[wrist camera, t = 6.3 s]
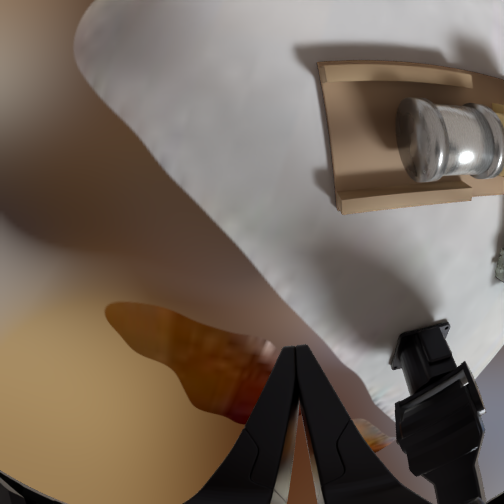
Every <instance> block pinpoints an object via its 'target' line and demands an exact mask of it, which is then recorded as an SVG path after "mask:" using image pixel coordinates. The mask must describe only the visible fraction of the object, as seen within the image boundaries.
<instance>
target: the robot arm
mask: <svg viewBox="0 0 504 504" xmlns="http://www.w3.org/2000/svg"><path fill="white" fill-rule="evenodd" d="M449 329H450V324H449V323H448V322H447V323H443V324H439V325H435V326H432V327H428V328H424V329H420V330H416V331H411V332H407V333H403V334H401V335H400V337H399V340H398V344H397V347H396V351H395V354H394V358H393V361H392V364H391V368H392V370H396V369H400V368H402V370H403V373H404V376H405V380H406V383H407V386H408V390H409V393H410V396H409V397H408V398H406V399H404V400H402V401H398V402H397V403H395V420H396V439H397V440H396V442H397V444H398V445H400V447H401V449H402V451H403V452H404V453H405V454H407V457H408V463H409V469H410V471H411V472H412V473H413V474H414V475H415V476H416V477H417V476H420V475H421V476H422V477H424V478H425V479H427V480H428V481H429V482H431V483H432V484H433V485H434V488H435V493H436V498H437V503H438V504H504V491H503V492H502V493H500V494H499V495H497V496H496V497H494V498H492V499H490V500H489V501H487V502H486V498H485V493H484V487H483V482H482V478H481V473H480V469H479V465H478V457H479V453H480V449H481V445H482V441H483V437H484V433H485V428H484V424H483V421H482V418H481V415H483V414H485V413H486V410H485V407H484V403H483V401H482V397H481V395H480V391H479V389H478V386H477V384H476V381H475V379H474V377H473V375H472V372H471V371H470V369H469V367H468V365H467V363H466V362H465V361H464V362H463V363H461V365H460V366H458V367H457V365H456V363H455V361H454V359H453V356H452V352H451V350H450V348H449V346H448V344H447V342H446V340H445V339H446V336H447V334H448V331H449ZM467 382H468V384H467V385H465V386H463V385H464V384H466V383H467ZM299 401H300V408H301V413H302V418H303V424H304V429H305V434H306V440H307V446H308V451H309V457H310V462H311V468H312V474H313V479H314V485H315V491H316V497H317V503H318V504H432V503H431V502H429V501H427V500H426V499H424V498H422V497H421V496H419V495H418V494H416V493H415V492H413V491H411V490H410V489H408V488H407V487H405V486H404V485H403V484H402V483H400V482H399V481H398V480H397V479H396V478H395V477H394V476H393V475H392V473H391V472H390V471H389V470H388V469H387V468H386V466H385V465H384V464H383V463H382V462H381V461H380V459H379V458H378V457H377V456H376V454H375V453H374V452H373V451H372V449H371V448H370V447H369V445H368V444H367V443H366V441H365V440H364V439H363V437H362V435H361V434H360V432H359V431H358V429H357V428H356V426H355V424H354V423H353V421H352V420H351V418H350V416H349V414H348V413H347V411H346V409H345V407H344V406H343V404H342V402H341V401H340V399H339V397H338V396H337V394H336V392H335V390H334V389H333V387H332V385H331V384H330V382H329V380H328V378H327V377H326V375H325V373H324V372H323V370H322V368H321V367H320V365H319V363H318V361H317V360H316V358H315V356H314V355H313V353H312V351H311V350H310V348H309V346H308V345H306V344H305V345H297V346H296V347H295V346H285V347H283V348H282V351H281V352H280V355H279V357H278V359H277V361H276V363H275V365H274V368H273V370H272V372H271V374H270V376H269V378H268V380H267V382H266V385H265V387H264V389H263V391H262V393H261V395H260V397H259V399H258V401H257V403H256V405H255V407H254V409H253V411H252V413H251V415H250V417H249V419H248V421H247V423H246V425H245V428H244V429H243V430H242V432H241V434H240V436H239V438H238V439H237V441H236V443H235V444H234V446H233V448H232V449H231V451H230V452H229V454H228V455H227V457H226V458H225V460H224V461H223V462H222V464H221V465H220V466H219V468H218V469H217V470H216V471H215V473H214V474H213V475H212V476H211V478H210V479H209V480H208V481H207V483H206V484H205V485H204V486H203V487H202V488H201V490H199V492H198V493H197V494H195V495H194V496H193V497H192V498H190V499H189V500H188V501H186V502H184V503H183V504H287V498H288V492H289V485H290V478H291V472H292V464H293V456H294V448H295V439H296V431H297V421H298V411H299ZM0 504H67V503H64V502H61V501H59V500H57V499H54V498H52V497H50V496H47V495H45V494H43V493H41V492H39V491H37V490H35V489H33V488H31V487H29V486H27V485H25V484H23V483H21V482H19V481H18V480H16V479H14V478H12V477H10V476H9V475H7V474H5V473H4V472H2V471H0Z"/></svg>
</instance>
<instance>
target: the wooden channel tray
mask: <svg viewBox="0 0 504 504" xmlns="http://www.w3.org/2000/svg"><path fill="white" fill-rule="evenodd" d="M317 65H318V70H319V76H320V81H321V86H322V92H323V98H324V104H325V110H326V117H327V124H328V131H329V139H330V146H331V155H332V164H333V174H334V184H335V196H336V208H337V210H338V211H341V213H342V215H346V214H353V213H361V212H370V211H378V210H387V209H395V208H404V207H413V206H422V205H432V204H442V203H452V202H462V201H471V199H472V197H475V196H488V195H502V194H504V168H503V170H502V172H501V173H500V174H499V175H498V176H497V177H495V178H492V179H476V178H474V177H472V176H470V175H450V176H442V177H441V178H440V179H439V180H437V181H434V182H415V181H414V180H413V179H411V178H410V176H409V175H408V174H407V172H406V170H405V168H404V166H403V164H402V161H401V158H400V155H399V151H398V146H397V140H396V128H395V124H396V114H397V109H398V106H399V104H400V102H401V101H402V100H403V99H404V98H407V97H412V98H426V99H428V100H430V101H431V102H433V103H434V104H445V105H456V106H463V105H464V104H466V103H476V104H482V105H486V106H488V107H489V108H491V109H492V110H493V111H494V112H495V113H496V114H497V116H498V117H499V119H500V121H501V123H502V125H503V127H504V80H502V79H499V78H495V77H492V76H488V75H484V74H480V73H475V72H471V71H466V70H461V69H456V68H450V67H444V66H437V65H429V64H421V63H411V62H398V61H376V60H346V61H324V62H317Z"/></svg>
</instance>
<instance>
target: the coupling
mask: <svg viewBox="0 0 504 504" xmlns="http://www.w3.org/2000/svg"><path fill="white" fill-rule="evenodd" d="M395 128H396V140H397V146H398V151H399V155H400V158H401V161H402V164H403V166H404V168H405V170H406V172H407V174H408V175H409V176H410V178H411V179H413V180H414V181H415V182H434V181H437V180H439V179H440V178H441V177H442V176H450V175H470V176H472V177H474V178H476V179H492V178H495V177H497V176H498V175H499V174H500V173H501V172H502V170H503V168H504V127H503V125H502V123H501V121H500V119H499V117H498V116H497V114H496V113H495V112H494V111H493V110H492V109H491V108H489V107H488V106H486V105H482V104H476V103H466V104H464V105H463V106H456V105H445V104H434V103H433V102H431V101H430V100H428V99H426V98H412V97H407V98H404V99H403V100H402V101H401V102H400V104H399V106H398V109H397V114H396V124H395Z"/></svg>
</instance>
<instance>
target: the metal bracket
mask: <svg viewBox="0 0 504 504" xmlns="http://www.w3.org/2000/svg"><path fill="white" fill-rule="evenodd" d="M500 254H501V256H499V261H498V266H497V268H496V269H495V270H496V277H497V278H498V279H500V280H501V281H502V282H504V250H503V249H500Z"/></svg>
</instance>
